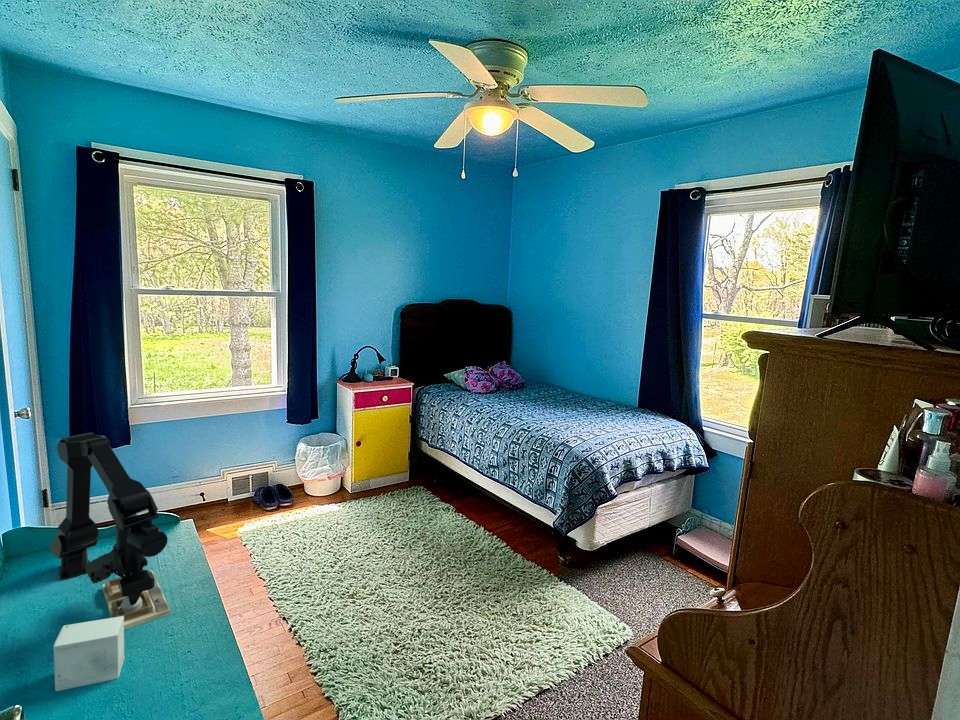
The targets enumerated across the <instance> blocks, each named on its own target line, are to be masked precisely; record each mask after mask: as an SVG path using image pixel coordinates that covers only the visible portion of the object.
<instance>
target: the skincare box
mask: <svg viewBox="0 0 960 720" xmlns="http://www.w3.org/2000/svg"><path fill="white" fill-rule="evenodd" d="M125 659H126V658H125V630H124V616H120V617H114V618H111V617H109V618H101V619H96V620H89V621H84V622H77V623H72V624H71V623H70V624H65V625H63V626H62V628H61V629H60V631H59V633H58V635H57V637H56V639H55V642H54V645H53V666H54V668H53V670H54V671H53V673H54V690H55V692H59V691H64V690H70V689H74V688H78V687H84V686H89V685H93V684H99V683H104V682H107V681H108V682H109V681H112V680H117V679H119V677H120V674H121V671H122V667H123V663H124V661H125Z"/></svg>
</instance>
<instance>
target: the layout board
mask: <svg viewBox="0 0 960 720" xmlns="http://www.w3.org/2000/svg"><path fill="white" fill-rule="evenodd" d="M150 572H151V573H152V575H153V577H154V579H155V587H154V588H152V589H150V590H146V591H143V592H142V594H141V595H140V598H141V599H142V603H143V605H142V607H141V608H140V609H137V610H134V611H131V612H128V613H123V612H122V611H121V610H120V608H121V603H122V602H123V599H124V598H125V597H123V596H122V595H121V592H120V589H119V586H118V583H119V581H120V580H121V579H122V577H120V576H118V577H116V578H112V579H110V580H106V581H104V584H102V585H101V587H102V592H103V595H104V598H105V601H106V604H107V609H108V612H109V616H110V618H114V617H120V616H124V631H125V630H129V629H131V628H133V627H136V626H137V627H138V626H139V625H143V624H146V623H148V622H151V621H154V620H157V619H159V618H163V617H166V616H169V615H171V608H170V606H169V604H168V602H167V600H166V597H165V595H164V593H163V590H162V588H161V586H160V584H159V582H158V580H157V577H156V575H155V573H154V571H153V570H150Z"/></svg>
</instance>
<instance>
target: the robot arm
mask: <svg viewBox="0 0 960 720" xmlns="http://www.w3.org/2000/svg"><path fill="white" fill-rule="evenodd" d="M111 445H112V443H111V441H110V439H109V437H106V436H105V435H97V434H96V433H94V432H87V433H81V434H76V435H72V436H65V437H62V439H60V440H59V441H58V443H57V445H56V450H57V455H58V456H59V460H60V461H61V462H62V463H63V464H64V465H65V467H66V470H67V472H66V475H67V476H66V504H65V505H66V506H65V518H64V519H63V520H62V521H61V523H60V524H59V525H58V527H57V530H56V531H57V532H56V536H55V538H54V539H52V541H51V543H50V544H49V548H50V553H51V554H52V556H53V555H54V557H55V558H57V559H59V560H60V565H59V566H58V567H57V568H58V569H57V570H58V575H59V580H64V579H69V578H72V577H76V576H79V575H83V574H86V575H87V576H88V577H89V579H90V582H91V583H92V584H98V583H101V582H104V580H106V579H108V578H110V577H112V574H114V575H116V576H117V577H122V579H121V580H120V581H119V583H118V586H119V589H120V592H121V595H122V596H123V597H126V596H128V598H129V602H130V605H134V604H136V603H137V601H138V599H139V597H140V595H141V594H142V592H143V591H146V590H150V589H152V588H154V587H155V579H154V577H153V575H152V573H151V572H150V571H151V570H150V571H149V570H148V569H147V570H146V569H144V567H147V566H148V559H147V558H152V557H155V556H157V555H158V554H160V553H161V552H162V551H163V550H164V549H165V548H166V546H167V544H168V536H167V534H166V533H165V532H164V531H162V530H160V529H159V526H158V525H156V524H154V523H153V520H155V519H158V518H159V513H158V510H159V509H158V506H157V504H156V502H155V500H154V498H153V496H152V494H151V492H150V491H149V490H147V488H146V487H145V486H144V485H143V483H141V482H140V481H138V480H136V479H133V478H132V477H130V475H129V473H127V471H126V469H125V468H124V466H123V464H122V463H121V461H120V460H119V458H118V456H117V454H116V453H115V452H114V450H113V448H112V446H111ZM92 467H93V468H94V470H95V471H96V473H97V475H98V477H99V478H100V479H101V481H102V483H103V486H105V488H106V490H107V492H108V496H107V501H106V502H107V503H106V504H107V505H108V506H107V507H108V512H109V514H110V516H111V517H112V520H113V521H114V523H115V543H114V545H113V546H112V550H111V551H109V552H108V553H104V554H103V555H100V556H98V557H97V558H94V559H92V560H89V556H88V555H89V548H92V547H96V546H97V543H98V539H99V534H100V532H99V527H98V525H97V523H96V522H95V521H94V520H93V519H92V518H91V517H90V506H91V503H90V502H91V484H92V483H91V479H92V478H91V477H92ZM145 511H148V512H145ZM143 512H145V513H143ZM139 513H141V514H139Z"/></svg>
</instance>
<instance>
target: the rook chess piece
mask: <svg viewBox="0 0 960 720" xmlns="http://www.w3.org/2000/svg"><path fill="white" fill-rule="evenodd" d="M142 605H143V603H142V599H141V598H140V597H139V599H138V601H137V603H136V604H134V605H130V602H129V598H128V596H126V597H125V598H124V599H123V602H122V603H121V608H120V610H121V611H122V612H123V613H128V612H131V611H134V610H137V609H140V608H141V607H142Z"/></svg>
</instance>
